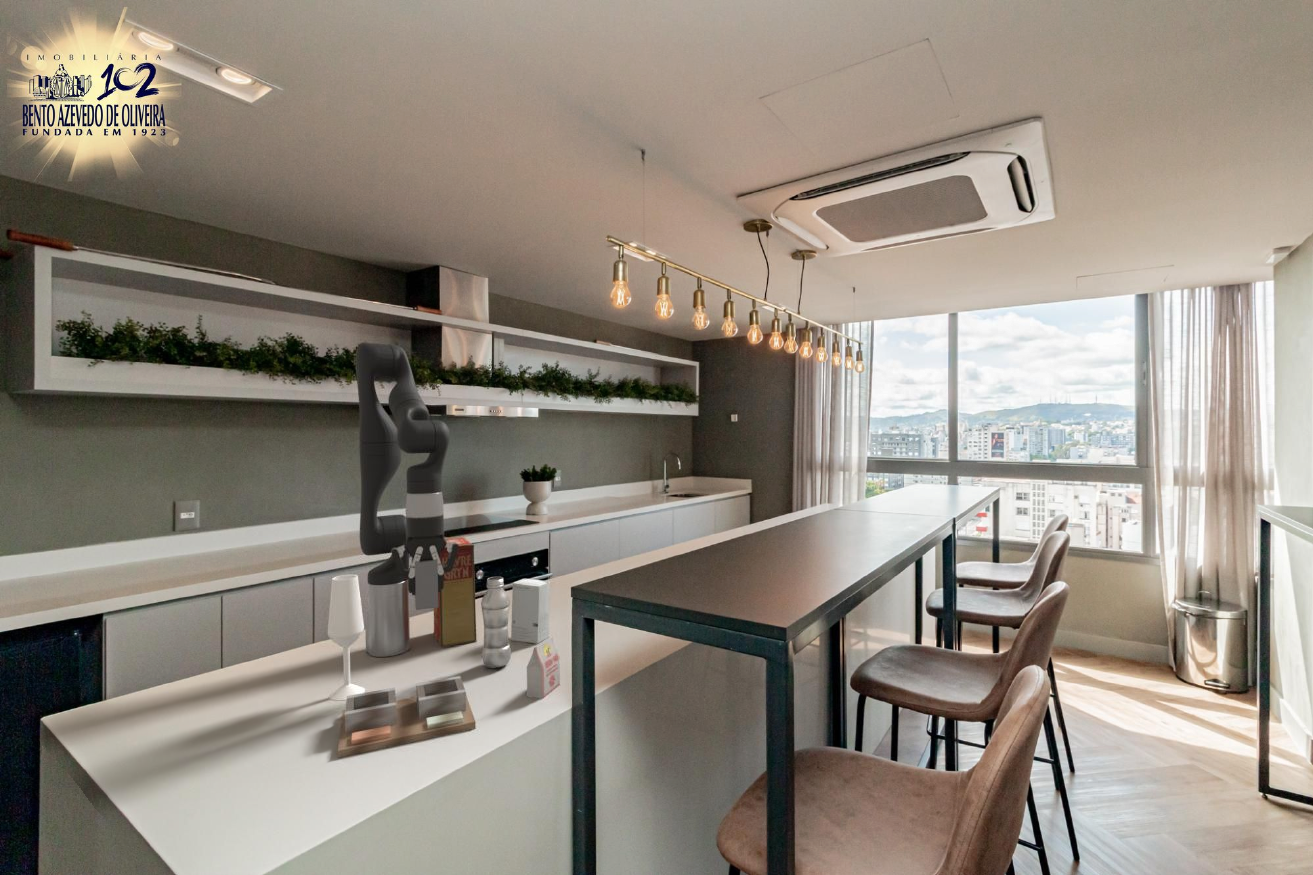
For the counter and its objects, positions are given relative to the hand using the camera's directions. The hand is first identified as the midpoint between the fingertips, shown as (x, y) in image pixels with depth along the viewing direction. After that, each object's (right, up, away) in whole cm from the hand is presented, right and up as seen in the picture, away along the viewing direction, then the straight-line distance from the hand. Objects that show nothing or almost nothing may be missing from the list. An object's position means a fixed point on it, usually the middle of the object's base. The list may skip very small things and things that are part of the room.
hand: (426, 592), depth 129 cm
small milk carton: (+26, -19, -5) cm, 33 cm away
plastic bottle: (+13, -19, +9) cm, 25 cm away
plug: (0, -3, 0) cm, 3 cm away
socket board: (+3, -19, -18) cm, 27 cm away
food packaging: (-3, -19, +28) cm, 34 cm away
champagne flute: (-14, -20, -5) cm, 25 cm away
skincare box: (+17, -19, +26) cm, 37 cm away
